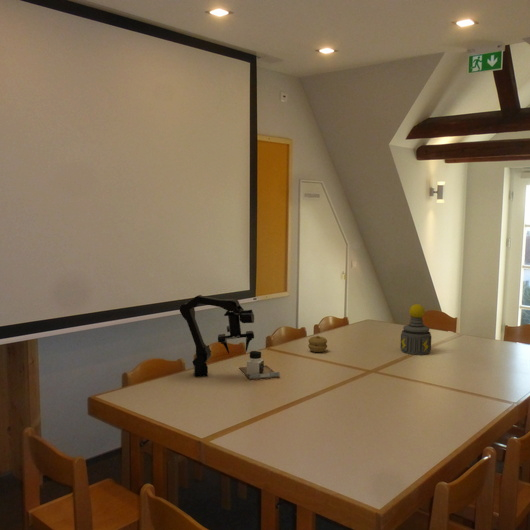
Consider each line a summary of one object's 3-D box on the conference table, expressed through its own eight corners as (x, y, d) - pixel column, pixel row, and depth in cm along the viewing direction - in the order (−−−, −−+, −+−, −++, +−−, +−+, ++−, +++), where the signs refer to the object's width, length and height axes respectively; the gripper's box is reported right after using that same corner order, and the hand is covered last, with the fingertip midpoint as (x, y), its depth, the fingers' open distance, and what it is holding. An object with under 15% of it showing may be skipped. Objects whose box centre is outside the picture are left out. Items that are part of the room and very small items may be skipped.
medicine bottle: (259, 376, 297) (259, 353, 296) (246, 374, 300) (246, 352, 298) (263, 372, 304) (264, 350, 303) (251, 371, 306) (251, 349, 305)
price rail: (250, 378, 292) (250, 374, 292) (249, 377, 294) (249, 374, 294) (279, 376, 297) (279, 372, 297) (278, 375, 299) (278, 371, 299)
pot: (306, 353, 351) (306, 337, 350) (310, 348, 362) (310, 333, 361) (325, 354, 347) (325, 338, 346) (328, 350, 358) (329, 334, 358)
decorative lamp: (393, 349, 361) (395, 302, 358) (417, 347, 369) (419, 301, 366) (413, 356, 344) (415, 307, 341) (437, 353, 352) (439, 305, 349)
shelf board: (250, 380, 292) (250, 378, 292) (238, 369, 313) (238, 367, 313) (279, 378, 297) (279, 376, 297) (266, 367, 318) (266, 365, 318)
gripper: (251, 317, 303) (254, 345, 306) (216, 321, 302) (219, 349, 305) (252, 322, 293) (255, 352, 295) (216, 327, 291) (219, 356, 294)
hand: (237, 352), depth 297 cm, fingers open, 9 cm apart
